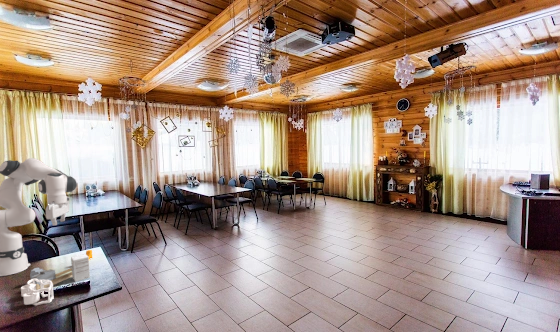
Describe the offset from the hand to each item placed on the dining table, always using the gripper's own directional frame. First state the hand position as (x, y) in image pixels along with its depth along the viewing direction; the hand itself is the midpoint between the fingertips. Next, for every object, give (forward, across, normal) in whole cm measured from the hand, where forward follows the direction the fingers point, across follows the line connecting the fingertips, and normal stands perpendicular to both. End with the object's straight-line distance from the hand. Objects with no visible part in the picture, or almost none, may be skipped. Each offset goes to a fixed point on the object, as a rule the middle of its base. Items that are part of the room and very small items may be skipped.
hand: (58, 223), depth 165 cm
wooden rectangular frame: (+31, -9, -1) cm, 33 cm away
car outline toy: (+32, -29, -1) cm, 43 cm away
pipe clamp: (+32, +16, -5) cm, 36 cm away
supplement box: (+31, -10, -13) cm, 36 cm away
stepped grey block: (+31, -9, +9) cm, 34 cm away
